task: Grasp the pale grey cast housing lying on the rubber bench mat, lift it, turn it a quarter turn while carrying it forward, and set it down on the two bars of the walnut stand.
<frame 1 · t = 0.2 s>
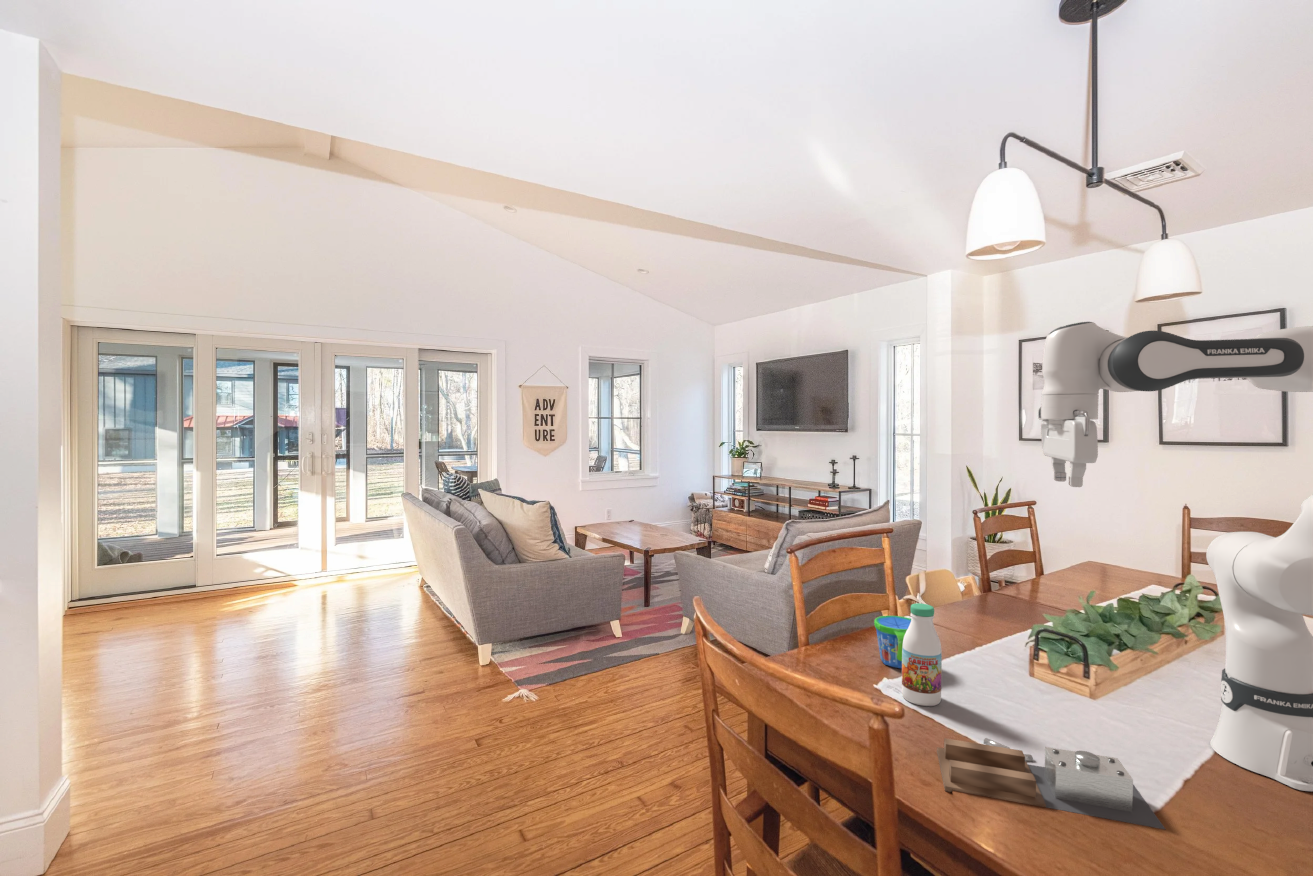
hand: (1067, 483, 113), 47 cm above the table, fingers open, 8 cm apart
pin a: (1019, 762, 105), on the table, tilted 16°
stand: (986, 778, 100), on the table
bench mat: (1086, 795, 95), on the table
milk bottle: (921, 699, 128), on the table
snack cup: (896, 664, 146), on the table
housing: (1086, 793, 95), resting on bench mat
pin b: (995, 749, 108), on the table, tilted 52°
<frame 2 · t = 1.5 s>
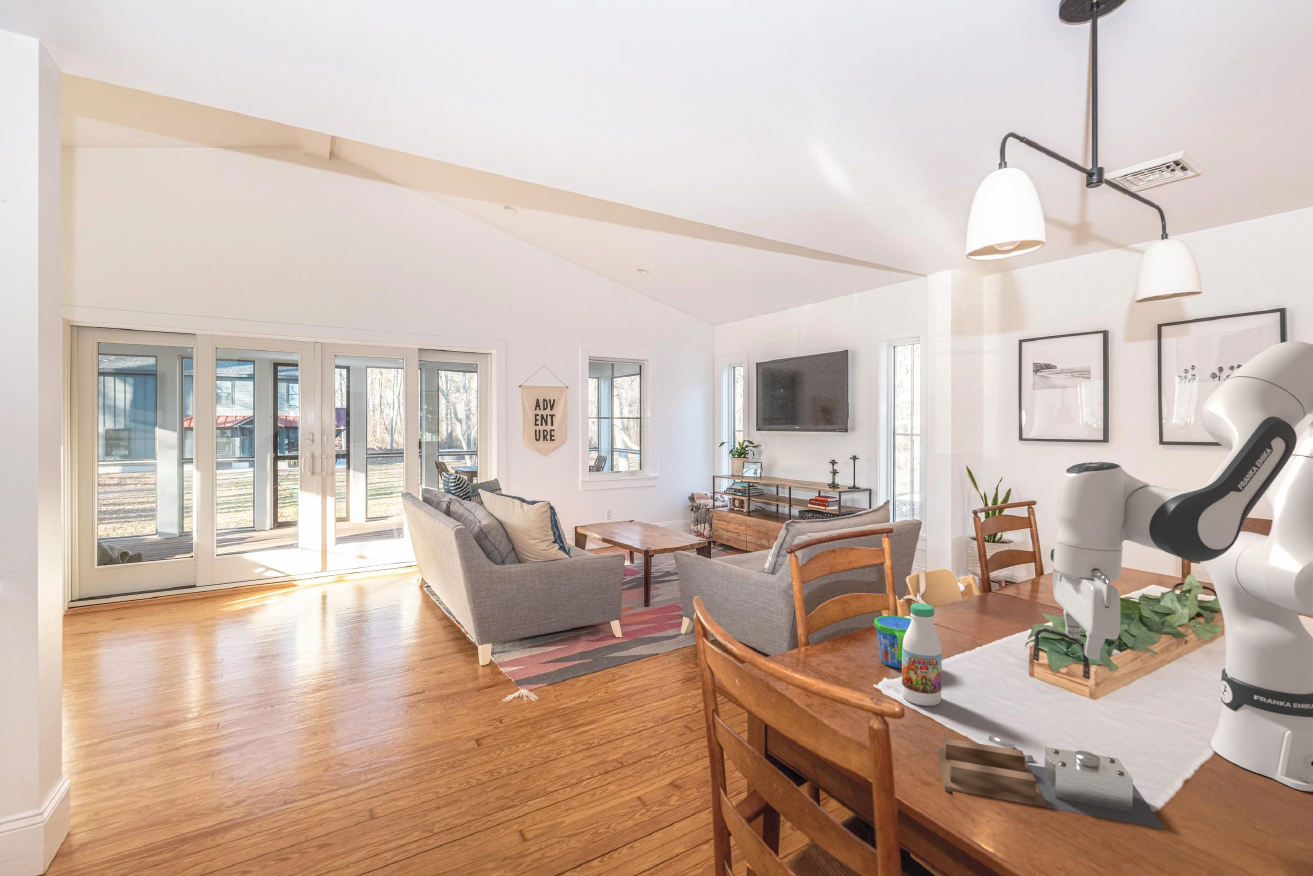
hand: (1081, 646, 98), 23 cm above the table, fingers open, 8 cm apart
pin a: (1019, 762, 105), on the table, tilted 8°
pin b: (1002, 740, 110), point 1 cm above the table, tilted 131°
everything else where it was.
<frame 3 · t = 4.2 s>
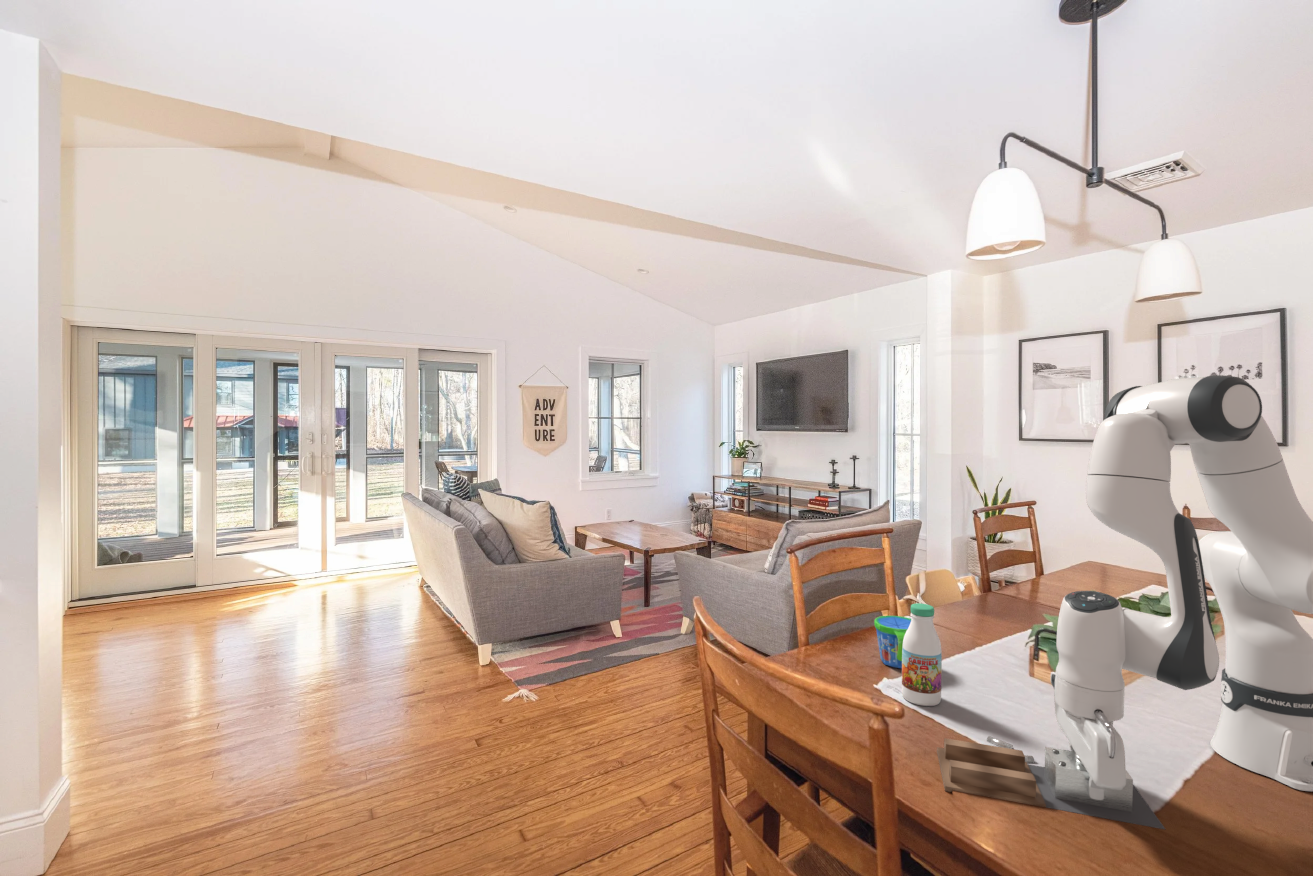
hand: (1086, 782, 95), 2 cm above the table, fingers closed on housing, 6 cm apart
pin a: (1019, 761, 105), on the table, tilted 34°
housing: (1086, 793, 95), resting on bench mat, touching gripper
pin b: (999, 740, 109), point 1 cm above the table, tilted 168°
everything else where it was.
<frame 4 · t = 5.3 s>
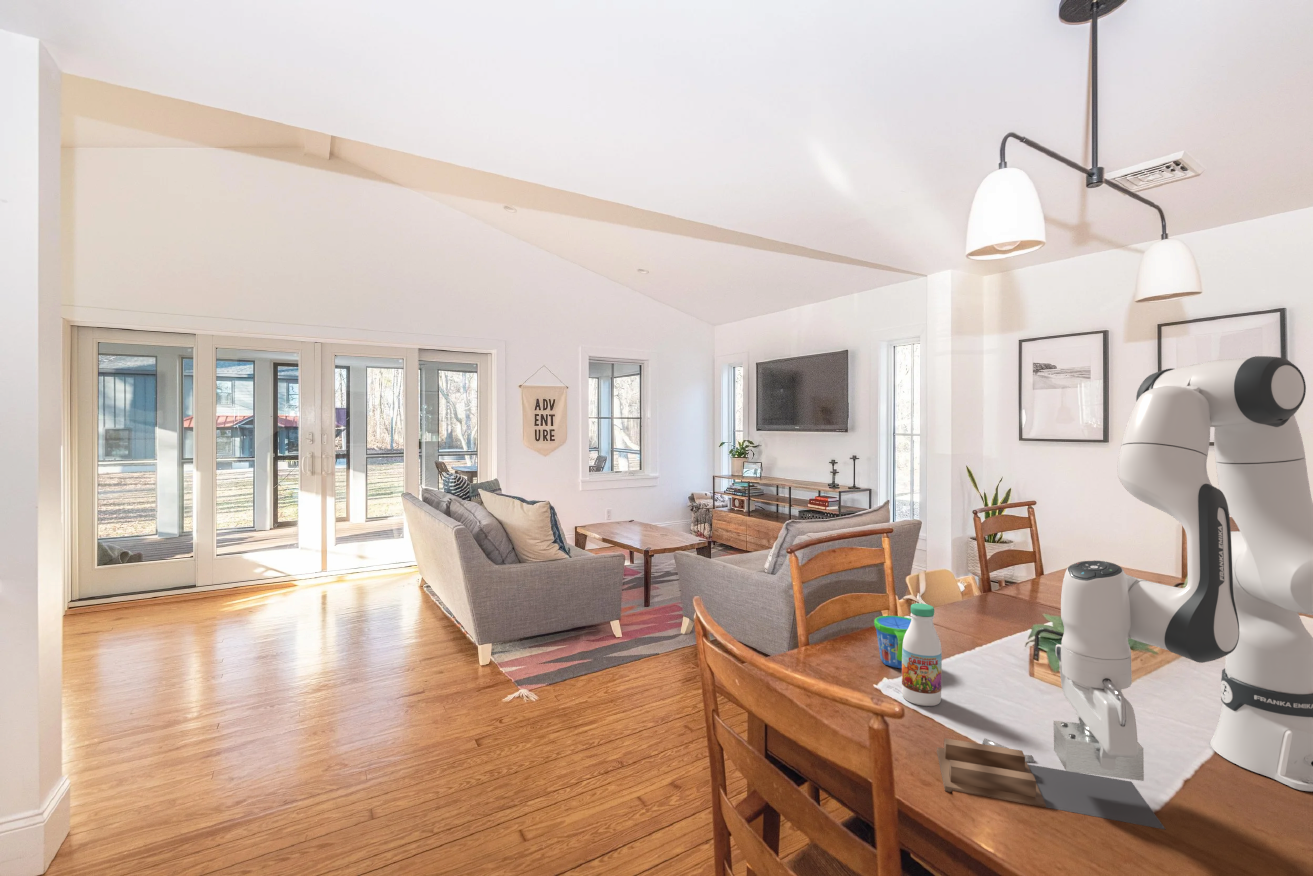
hand: (1097, 753, 94), 7 cm above the table, fingers closed on housing, 6 cm apart
pin a: (1019, 761, 105), on the table, tilted 21°
housing: (1096, 765, 95), point 5 cm above the table, touching gripper
pin b: (995, 751, 108), on the table, tilted 23°
everything else where it was.
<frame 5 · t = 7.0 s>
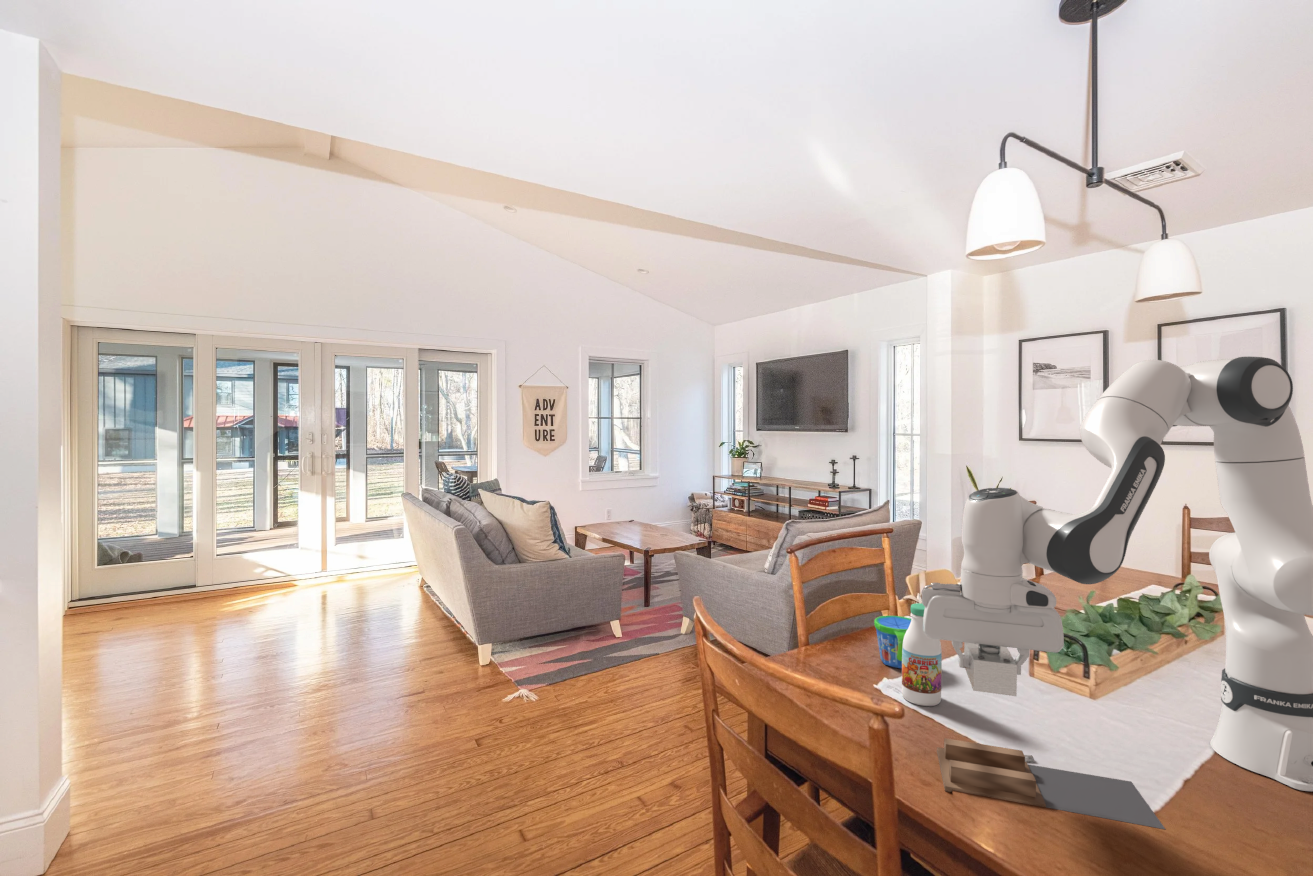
hand: (989, 670, 99), 18 cm above the table, fingers closed on housing, 6 cm apart
pin a: (1019, 761, 105), on the table, tilted 31°
housing: (988, 680, 99), point 17 cm above the table, touching gripper
pin b: (987, 750, 107), point 1 cm above the table, tilted 123°
everything else where it was.
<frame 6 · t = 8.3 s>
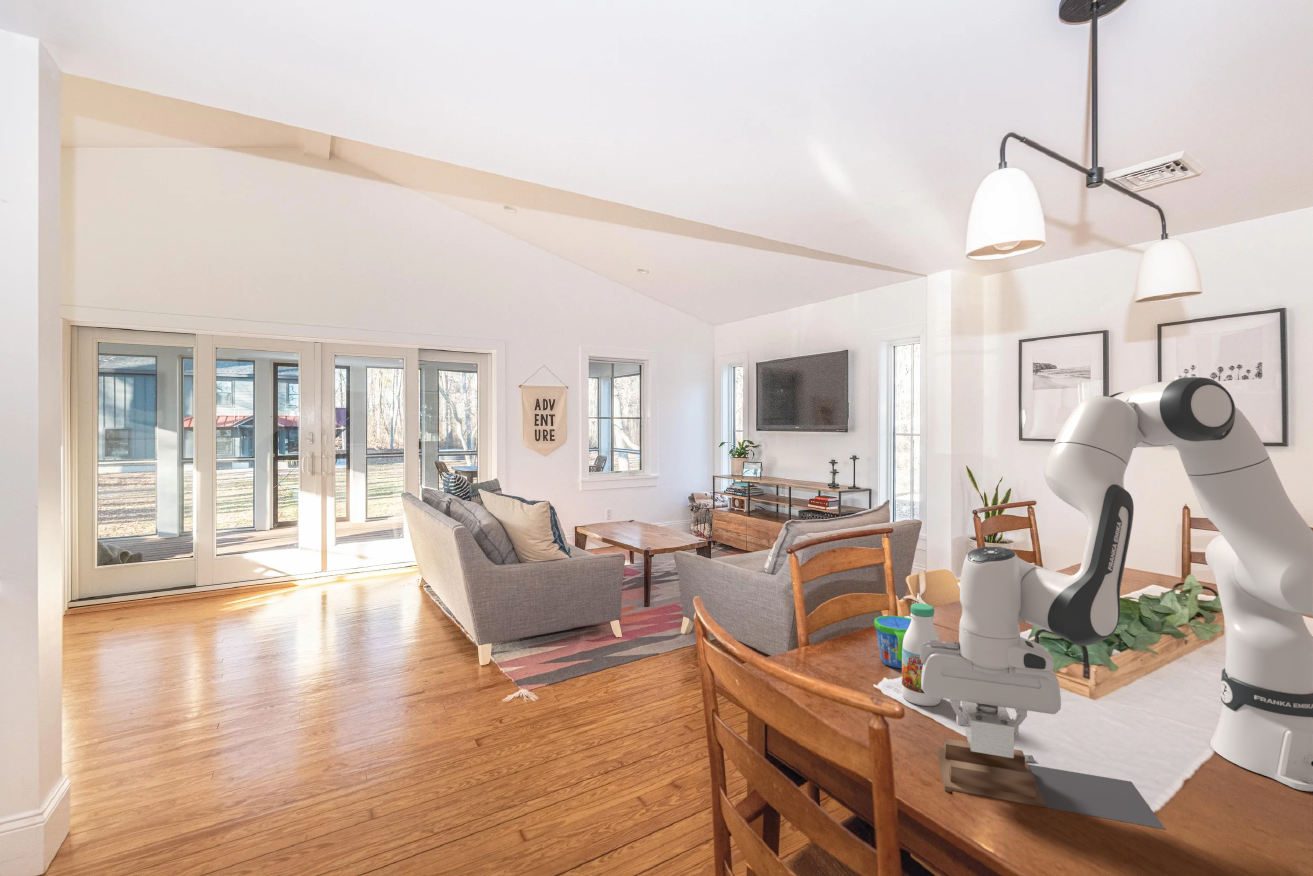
hand: (986, 728, 100), 8 cm above the table, fingers closed on housing, 6 cm apart
housing: (986, 738, 100), point 7 cm above the table, touching gripper
pin b: (995, 750, 108), on the table, tilted 19°
everything else where it was.
when the fingers open (6 cm above the table, at t = 9.6 s): housing drops 1 cm, resting on stand.
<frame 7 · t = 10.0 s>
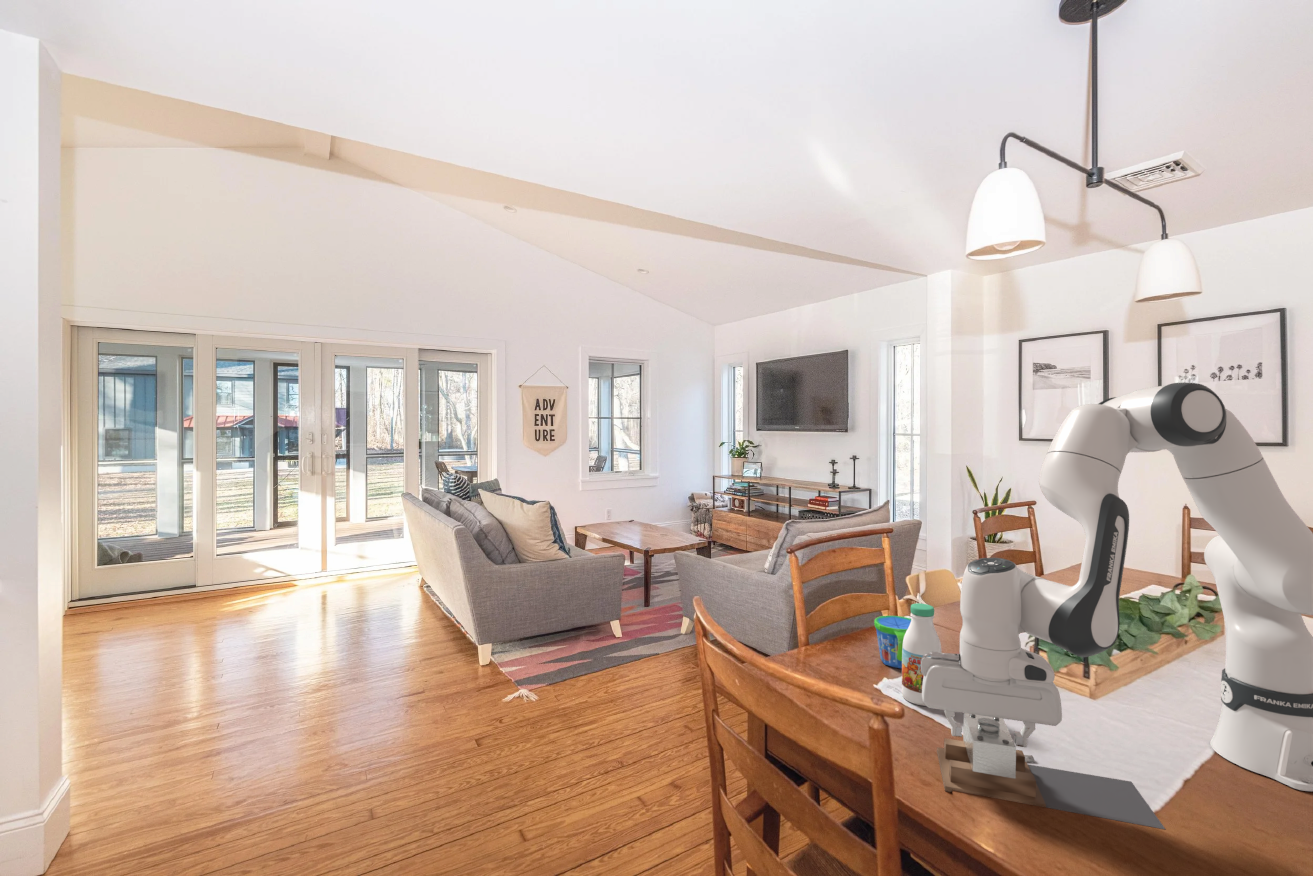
hand: (987, 740, 100), 6 cm above the table, fingers open, 8 cm apart
pin a: (1018, 760, 105), on the table, tilted 40°
housing: (987, 758, 100), point 3 cm above the table, touching stand
pin b: (997, 743, 109), point 1 cm above the table, tilted 133°
everything else where it was.
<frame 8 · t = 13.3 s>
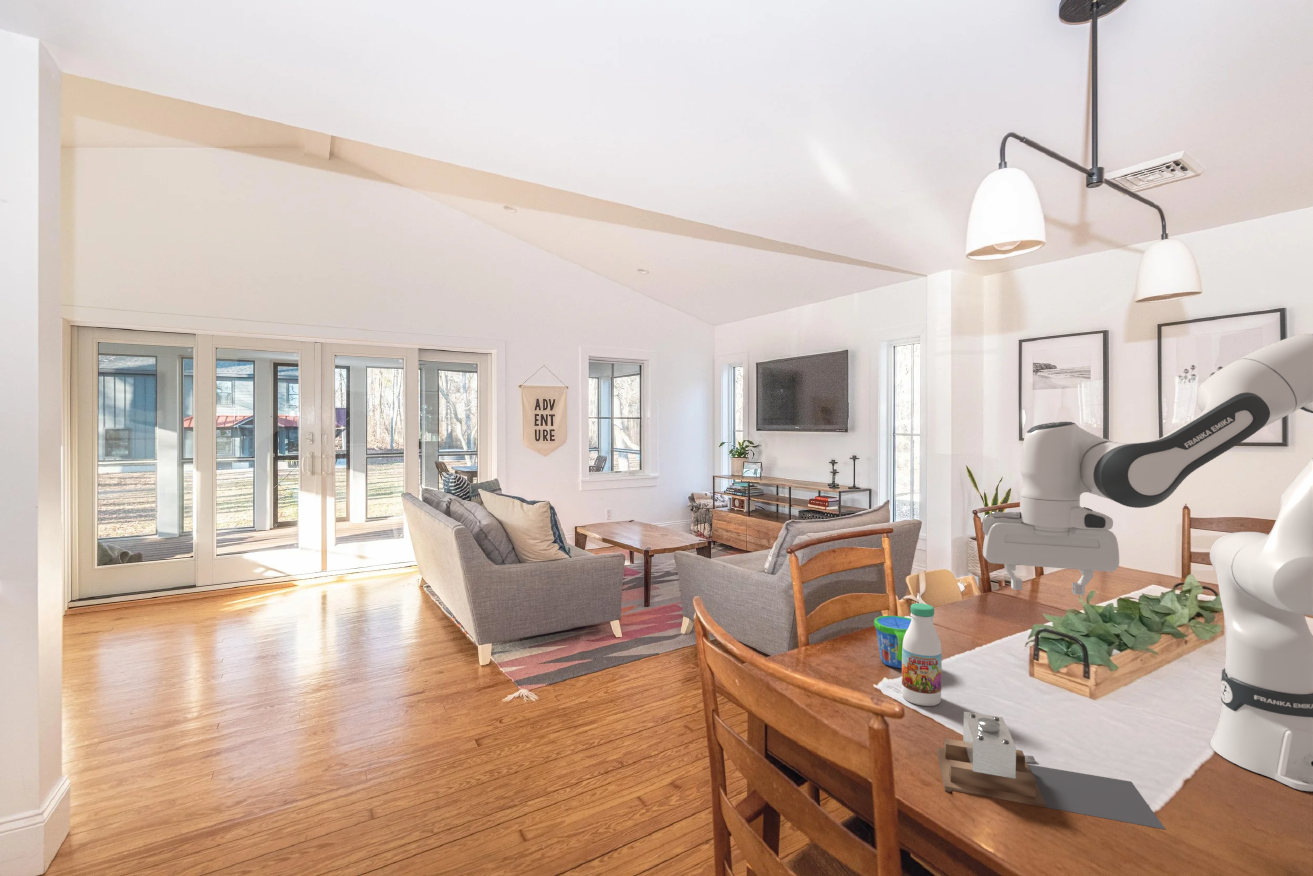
hand: (1046, 591, 107), 29 cm above the table, fingers open, 8 cm apart
pin a: (1019, 758, 105), on the table, tilted 69°
pin b: (1000, 740, 110), point 1 cm above the table, tilted 169°
everything else where it was.
at the end: housing inside the target area on the stand (0.1 cm from its centre), point 3.4 cm above the stand's base; housing tilted 0°; the gripper is holding nothing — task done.
